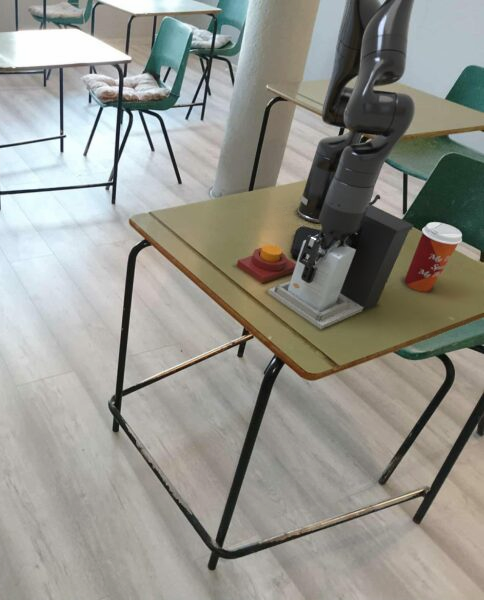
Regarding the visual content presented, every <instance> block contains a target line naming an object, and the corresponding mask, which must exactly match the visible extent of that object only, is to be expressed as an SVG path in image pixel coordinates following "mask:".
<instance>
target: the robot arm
mask: <svg viewBox="0 0 484 600" xmlns="http://www.w3.org/2000/svg"><path fill="white" fill-rule="evenodd" d="M414 5H415V0H384V2H383V3H381V1H380V0H345V5H344V10H343V13H342V18H341V23H340V26H339V31H338V36H337V41H336V47H335V53H334V59H333V66H332V71H331V72H332V73H331V76H330V80H329V83H328V87H327V91H326V94H325V98H324V101H323V106H322V110H321V119H322V122H323V123H325V124H326V125H329V126H332V127H336V128H341V129H345V130H348V132H346V133H344V134H341V135H337V136H336V135H335V136H328V137H324V138H322V139H320V140H319V142H318V143H317V146H316V150H315V153H314V156H313V160H312V162H311V167H310V170H309V173H308V176H307V178H306V182H305V186H304V189H303V192H302V195H301V197H300V200H299V201H300V202H299V205H298V207H297V211H296V213H297V215H298V216H299V218H302V219H303V220H305V221H308V222H311V223H317V224H320V226H321V229H320V230H321V231H320V233H319V234H318V236H313V235H311V234H310V235H308V237H307V239H306V242H305V245H304V247H303V250H302V253H301V256H300V258H299V262H300V263H302V264H304V265H305V267H304V270H303V273H302V276H301V279H302V280H303V281H305V282H307V283H311V282H312V281H313V278H314V275H315V273H316V270H317V266H318V265H319V264H320V262H321V261H322V260H325V259H326V258H327V255H328V253H330V252H332V251H333V250H334V249H335V248H337V247H340V246H344V247H348V246H349V247H351V248H353V249H356V247H357V244H358V241H359V238H360V235H361V233H362V230H363V226H362V222H363V219H364V217H365V214H366V212H367V209H368V206H369V204H370V205H372V206H374V205H375V203H376V202H377V201H378V200H380V199H381V195H380V194H376V195H375V196H374V198H373V195H374V191H375V187H376V184H377V181H378V178H379V175H380V174H381V171H382V168H383V166H384V163H385V162H386V160H387V159H388V157H389V156H390V155H391V153H392V151H393V150H394V148H395V147H396V146H397V144H398V143H399V142H400V141H401V139H403V137H404V135H405V134H406V133H407V131H408V129H409V128H410V127H411V124H412V123H413V120H414V117H415V114H416V104H415V101H414V98H413V97H412V96H411V95H410V94H408V93H405V92H398V91H397V92H396V91H386V90H376V89H374V88H378V87H384V86H388V85H392V84H394V83H396V82H398V81H400V79H402V77H403V76H404V74H405V71H406V67H407V54H408V42H409V30H410V23H411V22H410V21H411V18H412V12H413V8H414ZM356 77H357V78H356ZM355 78H356V80H355V83H354V86H353V87H351V86H347V85H348V84H349V83H350V82H351V81H352V80H354V79H355ZM363 135H370V136H373V138H372V139H370V140H369V141H366V142H365V141H364V142H361V140H362V137H363ZM372 199H373V200H372ZM349 240H352V245H351V244H349ZM319 248H322V249H324V250H326V251H325V252H324V253H321V252H319V251H318V250H319ZM307 254H308V256H307V257H306V255H307ZM316 255H317V256H318V258H317V259H316V261H315V258H316Z"/></svg>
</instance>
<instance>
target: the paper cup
mask: <svg viewBox="0 0 484 600" xmlns="http://www.w3.org/2000/svg"><path fill="white" fill-rule="evenodd" d="M421 232H422V233H421V236H420V237H419V241H418V244H417V245H416V249H415V251H414V253H413V256H412V259H411V262H410V264H409V267H408V270H407V272H406V275H405V278H404V283H405V285H406V286H407V287H408V288H410V289H412V290H414V291H417V292H423V293H425V292H430V291H431V290H432V288H433V287H434V285H435V284H436V282H437V281H438V279H439V277H440V275H441V274H442V272H443V270H444V269H445V267H446V265H447V264H448V262H449V260H450V259H451V257H452V255H453V254H454V252H455V250H456V249H457V247H458V245H460V244H461V243H462V242H463V238H462V237H463V234H462V232H461V230H460V229H458V228H456V227H455V226H453V225H451V224H447V223H444V222H440V221H439V222H438V221H433V222H432V221H431V222H428V223H427V224H426V225H425V226H424V227H423V228H422V230H421Z"/></svg>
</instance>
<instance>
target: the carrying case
mask: <svg viewBox="0 0 484 600" xmlns="http://www.w3.org/2000/svg"><path fill="white" fill-rule="evenodd" d="M320 231H321V229H317V228H314V227H309V226H304V225H303V226H299V227H298V228H297V229H296V230H295V233H294V236H293V240H292V243H291V247H290V250H289V251H290V255H291V256H292V258H294V259H296V260H298V257H299V254H300V251H301V248H302V244H303V241H305V240H306V239H307V237H308V235H310V234H311V235H313V236H316V235H318V234H319V233H320Z"/></svg>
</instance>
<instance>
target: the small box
mask: <svg viewBox="0 0 484 600" xmlns="http://www.w3.org/2000/svg"><path fill="white" fill-rule="evenodd" d="M316 236H318V235H316ZM305 242H306V240H305V241H303V244H302V248H301V251H300V254H299V257H298V259H296V263H295V264H296V266H295V269H294V272H293V273H292V276H291V278H290V280H289V281H290V285H289V288H288V292H290V293H291V294H293V295H294V296H296V297H297V298H299V299H300V300H302V301H303V302H305V303H306V304H308V305H309V306H311V307H312V308H314V309H315V310H317V311H318V312H322V311H324V310H326V309H328V308H329V307H331V306H332V305H334V304H335V303H336V301H337V299H338V296H339V293H340V291H341V288H342V286H343V283H344V280H345V278H346V275H347V272H348V270H349V267H350V265H351V262H352V259H353V257H354V254H355V251H356V250H355V249H353V248H351V247H349V246H348V247H344V246H340V247H337V248H335V249H334V250H333V251H332V252H330V253H328V255H327V258H326V259H325V260H322V261H321V262H320V264H319V265H318V266H317V270H316V273H315V275H314V278H313V281H312V282H311V283H307V282H305V281H303V280H302V279H301V276H302V273H303V270H304V267H305V265H304V264H302V263H300V262H299V258H300V256H301V253H302V250H303V247H304V245H305ZM318 251H319V252H321V253H324V252H325V251H326V250H324V249H322V248H319V250H318ZM307 256H308V254H307V255H306V257H307ZM317 258H318V256H317V255H316V258H315V261H316V259H317Z"/></svg>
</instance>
